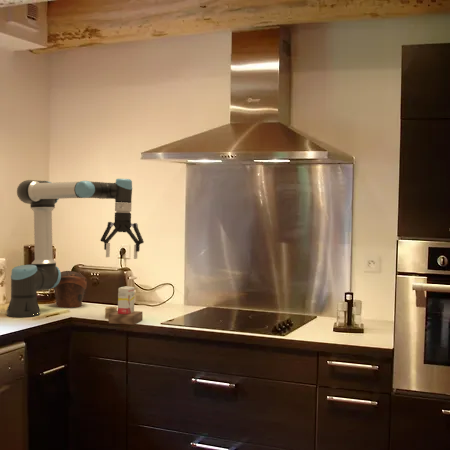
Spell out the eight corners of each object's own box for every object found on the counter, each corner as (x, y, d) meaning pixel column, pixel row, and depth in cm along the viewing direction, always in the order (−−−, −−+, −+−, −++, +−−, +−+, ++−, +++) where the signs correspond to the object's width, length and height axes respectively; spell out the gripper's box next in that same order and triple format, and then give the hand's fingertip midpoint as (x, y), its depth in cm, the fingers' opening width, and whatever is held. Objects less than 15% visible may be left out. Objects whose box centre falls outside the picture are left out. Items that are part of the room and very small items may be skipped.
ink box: (127, 314, 284) (127, 288, 283) (117, 314, 285) (117, 288, 285) (134, 311, 292) (135, 286, 292) (124, 311, 293) (125, 285, 293)
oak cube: (105, 318, 295) (105, 308, 295) (106, 317, 300) (106, 306, 300) (115, 318, 295) (116, 308, 295) (116, 317, 300) (117, 306, 300)
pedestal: (108, 323, 284) (108, 314, 284) (117, 318, 295) (118, 310, 295) (134, 324, 281) (134, 315, 281) (142, 320, 293) (142, 311, 293)
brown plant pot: (69, 309, 317) (70, 274, 316) (43, 306, 327) (43, 271, 327) (95, 306, 331) (96, 272, 331) (68, 302, 342) (69, 270, 342)
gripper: (94, 211, 289) (92, 257, 289) (146, 213, 284) (144, 260, 285) (100, 211, 296) (99, 255, 297) (151, 213, 291) (149, 258, 292)
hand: (121, 257), depth 291 cm, fingers open, 13 cm apart
